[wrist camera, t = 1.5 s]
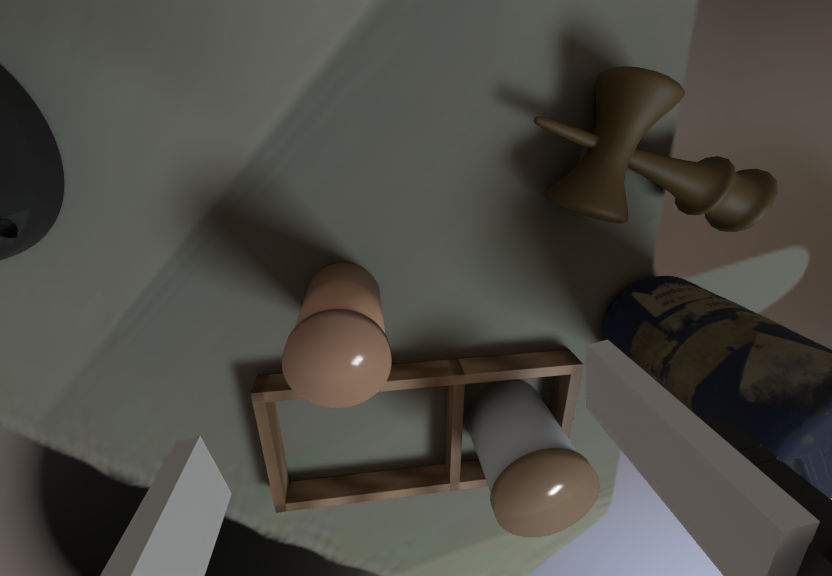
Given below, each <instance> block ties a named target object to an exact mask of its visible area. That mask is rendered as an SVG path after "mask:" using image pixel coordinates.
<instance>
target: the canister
mask: <svg viewBox="0 0 832 576" xmlns="http://www.w3.org/2000/svg"><path fill="white" fill-rule="evenodd" d="M603 336H604V340H609V341H610V342H611V343H612V344H613V345H615V346H616V347H617V348H618V349H619V350H620V351H622V352H623V353H624V354H625V355H626V356H627V357H629V358H630V359H631V360H632V361H633V362H634V363H636V364H637V365H638V366H639V367H640V368H641V369H643V370H644V371H645V372H646V373H647V374H648V375H650V376H651V377H652V378H653V379H654V380H655V381H657V382H658V383H659V384H660V385H661V386H662V387H664V388H665V389H666V390H667V391H668V392H669V393H671V394H672V395H673V396H674V397H675V398H676V399H678V400H679V401H680V402H681V403H682V404H683V405H685V406H686V407H687V408H688V409H689V410H690V411H692V412H693V413H694V414H695V415H696V416H697V417H699V418H700V419H701V420H706V419H710V418H714V417H719V418H721V419H723V420H725V421H727V422H729V423H731V424H733V425H735V426H737V427H739V428H741V429H742V430H744V431H745V432H746V433H747V434H749V435H750V436H751V437H752V438H754V439H755V440H756V441H757V442H759V443H760V444H761V446H762V447H763V448H766V449H768V450H769V451H770V452H771V453H773V454H774V455H775V456H776V457H778V459H779V461H781V462H782V461H783V462H784V463H785V464H787V465H788V466H789V467H790V468H792V469H793V470H794V471H795V472H797V473H798V474H799V475H800V476H802V477H803V478H804V479H806V480H807V481H808V482H809V483H811V484H812V485H813V486H814V487H816V488H817V489H818V490H819V491H821V492H822V493H823V494H824V495H826V496H827V497H828V498H832V350H831V349H829V348H827V347H825V346H823V345H821V344H819V343H816V342H814V341H812V340H810V339H808V338H806V337H804V336H802V335H800V334H798V333H796V332H794V331H792V330H789V329H788V328H786V327H784V326H782V325H780V324H778V323H776V322H774V321H772V320H770V319H768V318H766V317H764V316H762V315H760V314H757V313H755V312H753V311H751V310H749V309H747V308H745V307H743V306H741V305H738V304H737V303H735V302H732V301H730V300H727V299H725V298H723V297H721V296H718V295H716V294H714V293H712V292H710V291H708V290H706V289H703V288H701V287H699V286H697V285H695V284H693V283H691V282H689V281H687V280H684V279H681V278H678V277H673V276H657V277H652V278H648V279H645V280H642V281H640V282H638V283H636V284H634V285H633V286H631V287H630V288H628V289H627V290H626V291H625V292H623V293H622V294H621V295H620V296H619V297H618V298H617V300H616V301H615V302H614V303H613V305H612V306H611V308H610V310H609V312H608V314H607V316H606V319H605V322H604V328H603Z"/></svg>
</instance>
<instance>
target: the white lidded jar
mask: <svg viewBox="0 0 832 576" xmlns="http://www.w3.org/2000/svg"><path fill="white" fill-rule="evenodd" d="M466 425H467V428H468V430H469V433H470V436H471V439H472V442H473V444H474V447H475V450H476V453H477V456H478V458H479V461H480V464H481V467H482V469H483V472H484V475H485V478H486V481H487V483H488V486H489V489H490V492H491V495H490V501H491V506H492V508H493V511H494V514H495V517H496V520H497V522H498V523H499V525H500V526H501V527H502V528H503V529H505V530H506V531H508V532H509V533H511V534H514V535H517V536H522V537H541V536H546V535H550V534H554V533H557V532H559V531H562V530H564V529H566V528H568V527H570V526H571V525H573V524H575V523H576V522H577V521H579V520H580V519H581V518H582V517H584V516H585V515H586V514H587V513H588V511H589V510H590V509H591V508H592V506H593V505H594V503H595V501H596V499H597V497H598V494H599V488H600V485H599V478H598V476H597V474H596V472H595V471H594V469H593V468H592V466H591V465H590V463H589V462H588V460H587V459H586V458H585V457H584V456H582V455H581V454H580V453H578V452H577V451H576V449H575V448H574V446H573V445H572V443H571V442H570V440H569V439H568V437H567V436H566V434H565V433H564V431H563V430H562V428H561V427H560V425H559V424H558V422H557V421H556V419H555V418H554V416H553V415H552V413H551V412H550V410H549V409H548V407H547V406H546V404H545V403H544V402H543V400H542V399H541V397H540V396H539V394H538V393H537V391H536V390H535V389H534V388H533V387H532V386H530V385H529V384H527V383H524V382H521V381H515V380H507V381H501V382H497V383H494V384H491V385H489V386H487V387H486V388H484V389H483V390H481V391H480V392H479V393H478V394H477V395H476V396H475V397H474V398H473V399H472V401H471V402H470V404H469V406H468V408H467V411H466Z"/></svg>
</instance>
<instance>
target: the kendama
mask: <svg viewBox="0 0 832 576" xmlns="http://www.w3.org/2000/svg"><path fill="white" fill-rule="evenodd" d="M684 94H685V91H684V90H683V88H682V86H681V85H680V84H679V83H678V82H677V81H675V80H674V79H672V78H670V77H669V76H667V75H664V74H661V73H659V72H656V71H653V70H648V69H644V68H639V67H626V66H623V67H614V68H610V69H607V70H605V71H603V72H600V74H599V75H598V77H597V80H596V84H595V96H596V125H595V129H594V133H593V134H592V133H589V132H587V131H584V130H581V129H578V128H575V127H573V126H570V125H567V124H564V123H561V122H558V121H555V120H552V119H549V118H546V117H542V116H536V117H535V118H534V122H535V124H537V125H538V126H540V127H542V128H544V129H546V130H548V131H550V132H552V133H554V134H557V135H559V136H561V137H563V138H566V139H568V140H570V141H572V142H575V143H577V144H579V145H581V146H584V147H586V148H587V150H586V152H585V154H584V155H583V157H582V160H581V161H580V163H579V164H578V165H577V166H576V168H575V169H573V170H572V171H571V172H570V173H569V174H567V175H566V176H565V177H563V178H562V179H561V180H559V181H558V182H557V183H555V184H554V185H553V186H552V187H550V188H549V189H548V190H547V191H546V193H545V196H546V198H547V199H548V200H550V201H551V202H553V203H555V204H557V205H559V206H562V207H564V208H567V209H569V210H572V211H575V212H577V213H580V214H583V215H586V216H590V217H593V218H596V219H600V220H604V221H608V222H615V223H624V222H626V221H627V219H628V209H627V202H626V195H625V188H624V176H625V172H626V170H627V168H630V169H632V170H634V171H635V172H637V173H639V174H641V175H643V176H644V177H646V178H648V179H650V180H651V181H653V182H654V183H656V184H658V185H659V186H661V187H662V188H664V189H665V190H667V191H669V192H670V193H671V194H672V195H673V196H675V204H676V206H677V207H678V209H679V210H680V211H682V212H683V213H685V214H687V215H701V214H705V218H706V220H707V221H708V222H709V224H710V225H711V226H712V227H714V228H716V229H718V230H720V231H726V232H738V231H741V230H745V229H748V228H750V227H752V226H753V225H754V224H756V223H757V222H758V221H760V220H761V219H762V218H763V217H764V216H765V214H766V213H767V212H768V210H769V209H770V208H771V207H772V205H773V202H774V200H775V197H776V195H777V180H776V179H775V178H774V177H773V176H772V175H771V174H770V173H769V172H766V171H762V170H759V169H746V170H740V171H737V172H735V167H734V165H733V164H732V163H731V162H730V161H729V159H726V158H722V157H718V156H716V157H709V158H705V159H703V160H701V161H699V162H691V161H685V160H680V159H675V158H671V157H667V156H662V155H658V154H654V153H651V152H647V151H644V150H640V149H637V148H636V147H637V145H638V143H639V142H640V140H641V139H642V137H643V136H644V134H645V133H646V132H647V131H648V130H649V128H651V127H652V126H653V125H654V124H655V123H656V122H657V121H658V120H659V119H660V118H661V117H663V116H664V115H665V114H666V113H667V112H668V111H670V110H671V109H672V108H673V107H674V106H675V105H676V104H677V103H679V102H680V100H681V99H682V98H683V97H684Z"/></svg>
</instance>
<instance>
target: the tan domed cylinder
mask: <svg viewBox="0 0 832 576" xmlns="http://www.w3.org/2000/svg"><path fill="white" fill-rule="evenodd" d="M282 370H283V374H284V377H285V379H286V381H287V383H288V385H289V386H290V387H291V389H292V390H293V391H294V392H295V393H296V394H297V395H299V396H300V397H301V398H303V399H304V400H306V401H308V402H310V403H313V404H315V405H319V406H322V407H328V408H343V407H350V406H353V405H357V404H359V403H362V402H364V401H366V400H368V399H369V398H371V397H372V396H374V395H375V394H376V393H377V392H378V391H379V390H380V389H381V388H382V387H383V385H384V384H385V382H386V381H387V379H388V376H389V374H390V370H391V352H390V345H389V342H388V339H387V336H386V334H385V330H384V322H383V314H382V306H381V298H380V290H379V287H378V284H377V282H376V280H375V279H374V277H373V276H372V275H371V274H370V273H369V272H368V271H367V270H365V269H364V268H362V267H360V266H358V265H355V264H351V263H335V264H331V265H328V266H326V267H324V268H322V269H321V270H319V271H318V272H317V273H316V274H315V275H314V276H313V278H312V279H311V281H310V283H309V285H308V288H307V291H306V294H305V298H304V301H303V304H302V307H301V310H300V313H299V316H298V319H297V322H296V326H295V328H294V329H293V330H292V332H291V334H290V335H289V337H288V340H287V342H286V345H285V348H284V351H283V355H282Z"/></svg>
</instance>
